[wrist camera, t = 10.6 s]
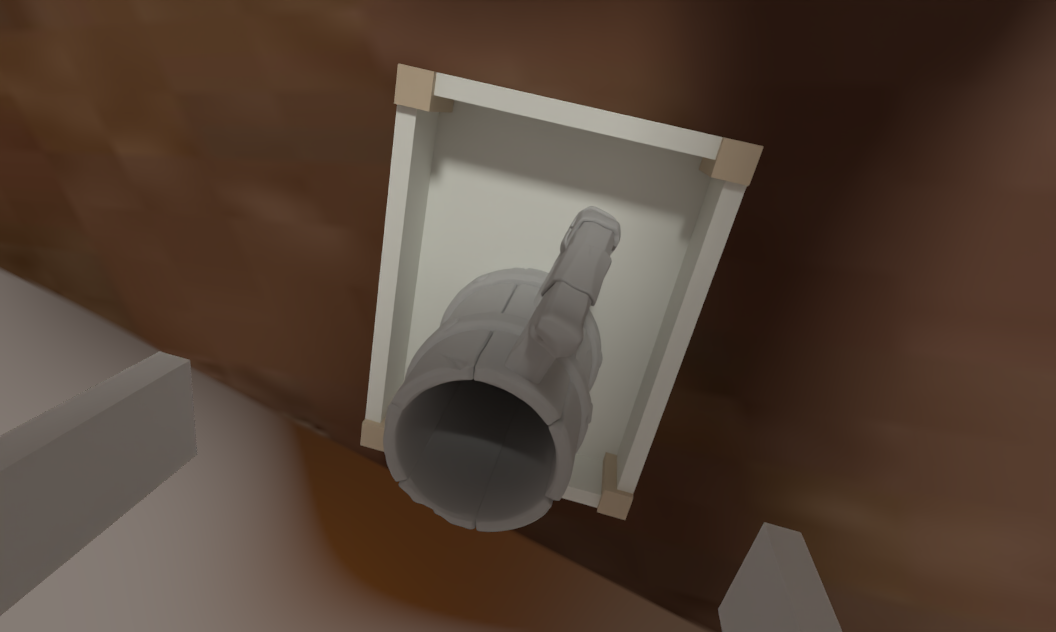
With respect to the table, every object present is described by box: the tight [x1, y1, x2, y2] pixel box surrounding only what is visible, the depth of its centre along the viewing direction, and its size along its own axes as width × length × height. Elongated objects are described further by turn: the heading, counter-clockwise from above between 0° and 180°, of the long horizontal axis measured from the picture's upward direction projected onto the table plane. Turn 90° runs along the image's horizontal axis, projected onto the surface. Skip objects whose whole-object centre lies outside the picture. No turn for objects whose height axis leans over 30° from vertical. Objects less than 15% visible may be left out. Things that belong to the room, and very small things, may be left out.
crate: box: [360, 64, 764, 520], centre depth 24 cm, size 18×14×4 cm
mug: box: [383, 206, 621, 532], centre depth 19 cm, size 8×12×12 cm, turn 152°
